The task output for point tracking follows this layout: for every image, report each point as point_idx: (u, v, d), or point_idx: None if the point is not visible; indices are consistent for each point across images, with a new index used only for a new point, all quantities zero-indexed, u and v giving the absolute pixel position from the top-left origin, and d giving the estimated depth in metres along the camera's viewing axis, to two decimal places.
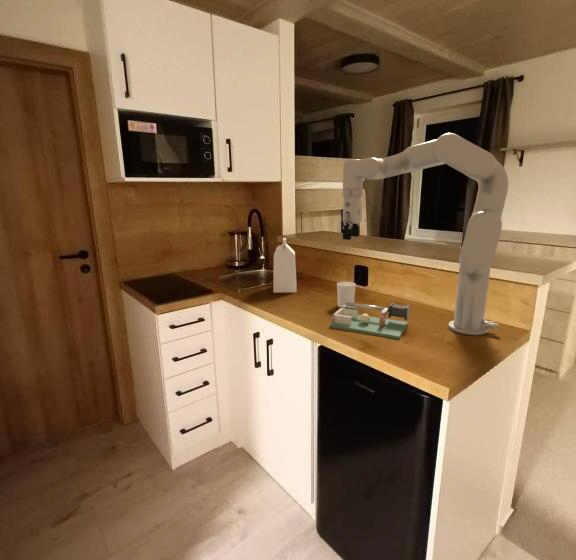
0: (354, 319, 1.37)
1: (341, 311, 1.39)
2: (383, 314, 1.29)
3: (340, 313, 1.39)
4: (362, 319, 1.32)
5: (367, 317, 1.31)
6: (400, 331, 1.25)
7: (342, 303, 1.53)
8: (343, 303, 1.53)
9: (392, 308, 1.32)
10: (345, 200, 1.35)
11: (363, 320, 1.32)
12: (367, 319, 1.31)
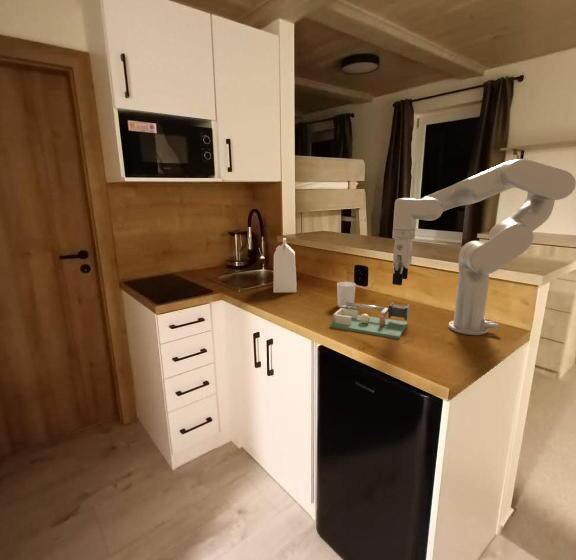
0: (354, 319, 1.37)
1: (341, 311, 1.39)
2: (383, 314, 1.29)
3: (340, 313, 1.39)
4: (362, 319, 1.32)
5: (367, 317, 1.31)
6: (400, 331, 1.25)
7: (342, 303, 1.53)
8: (343, 303, 1.53)
9: (392, 308, 1.32)
10: (397, 242, 1.23)
11: (363, 320, 1.32)
12: (367, 319, 1.31)
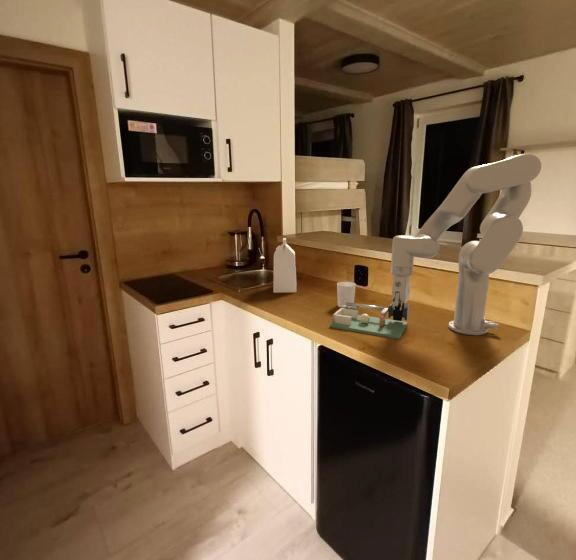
0: (354, 319, 1.37)
1: (341, 311, 1.39)
2: (383, 314, 1.29)
3: (340, 313, 1.39)
4: (362, 319, 1.32)
5: (367, 317, 1.31)
6: (400, 331, 1.25)
7: (342, 303, 1.53)
8: (343, 303, 1.53)
9: (392, 308, 1.32)
10: (395, 279, 1.26)
11: (363, 320, 1.32)
12: (367, 319, 1.31)
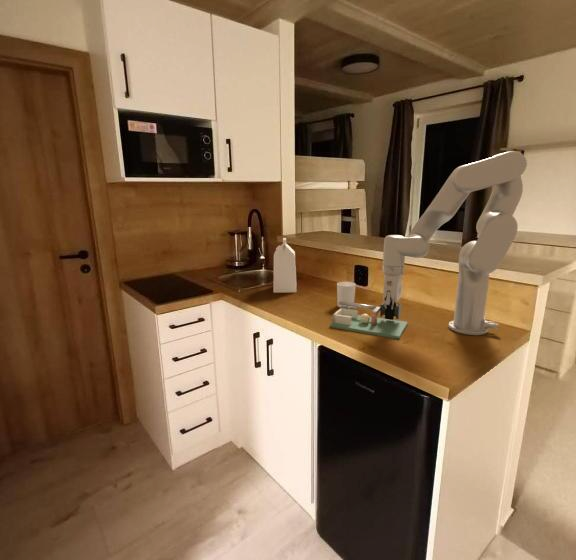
0: (354, 319, 1.37)
1: (341, 311, 1.39)
2: (375, 313, 1.31)
3: (340, 313, 1.39)
4: (362, 319, 1.32)
5: (367, 317, 1.31)
6: (400, 331, 1.25)
7: None
8: None
9: (384, 307, 1.33)
10: (386, 278, 1.27)
11: (363, 320, 1.32)
12: (367, 319, 1.31)
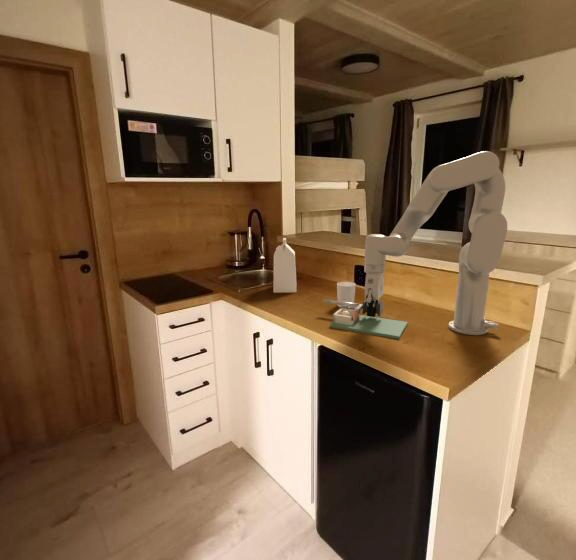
0: None
1: (341, 311, 1.39)
2: (357, 310, 1.34)
3: (340, 313, 1.39)
4: None
5: None
6: (400, 331, 1.25)
7: None
8: None
9: (366, 304, 1.36)
10: (367, 276, 1.30)
11: None
12: None
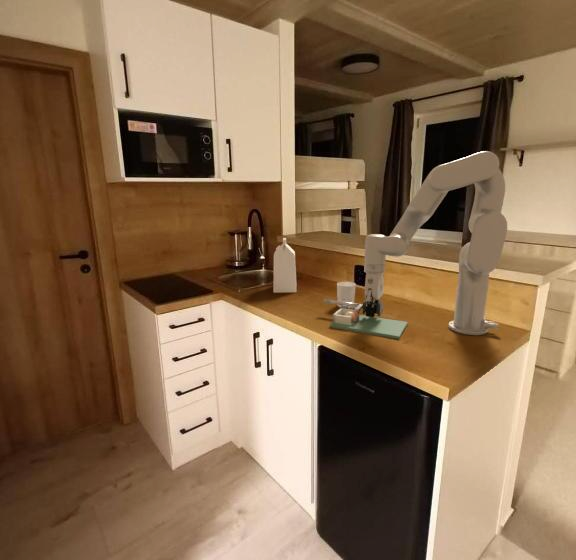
0: None
1: (341, 311, 1.39)
2: (357, 310, 1.34)
3: (340, 313, 1.39)
4: None
5: None
6: (400, 331, 1.25)
7: None
8: None
9: None
10: (367, 276, 1.31)
11: None
12: None
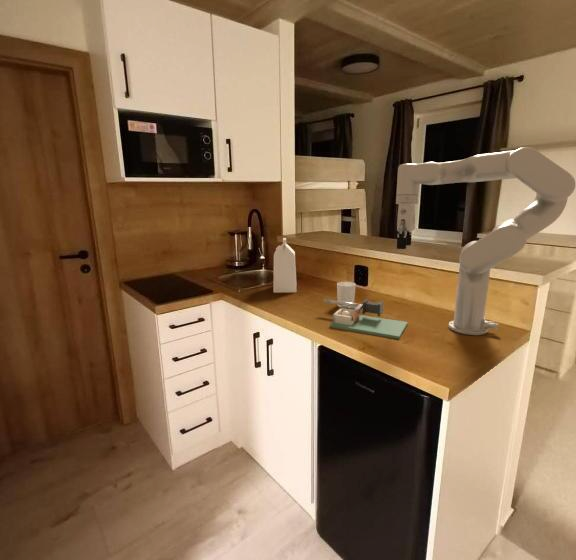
0: None
1: (341, 311, 1.39)
2: (357, 310, 1.34)
3: (340, 313, 1.39)
4: None
5: None
6: (400, 331, 1.25)
7: None
8: None
9: (366, 304, 1.36)
10: (400, 207, 1.26)
11: None
12: None
